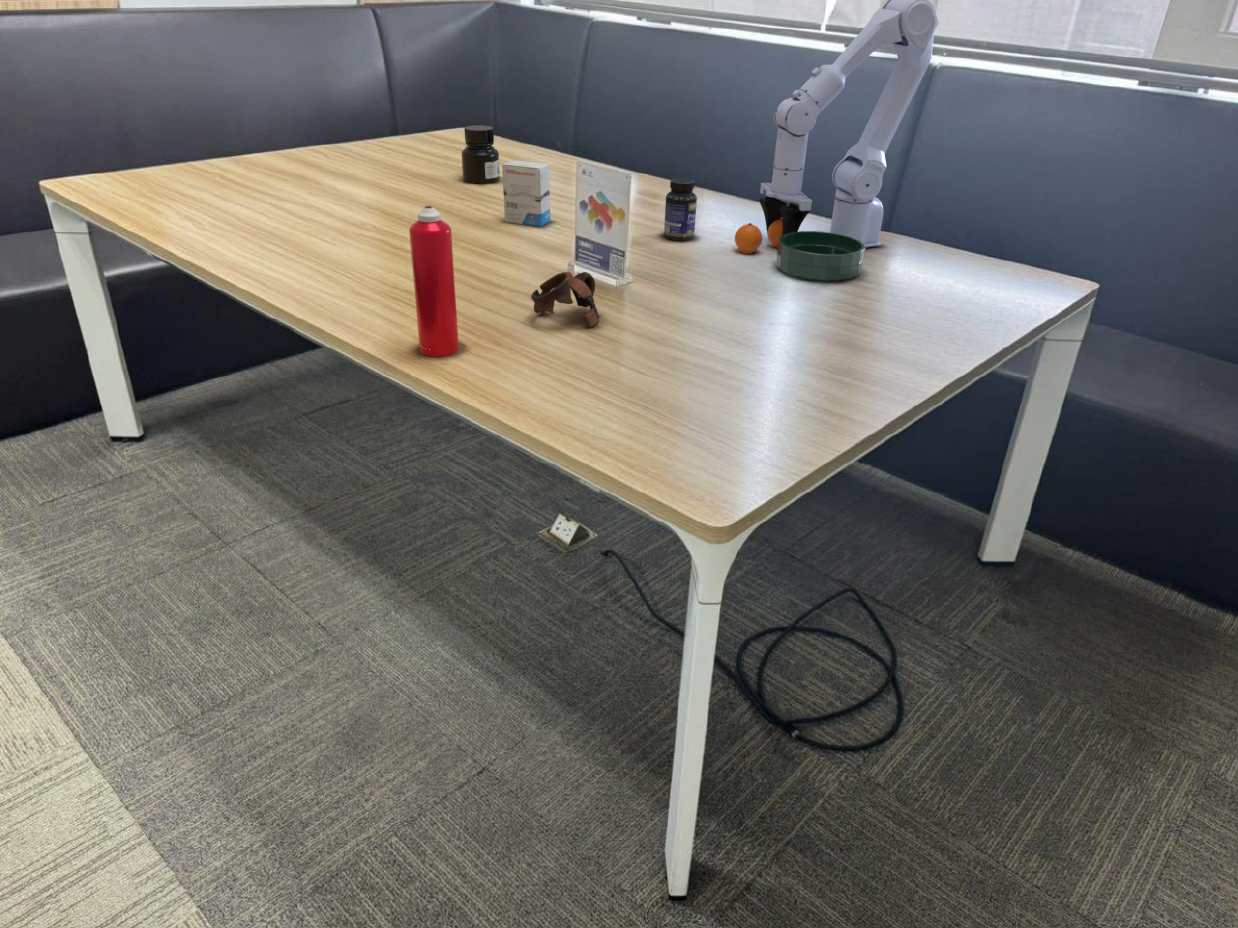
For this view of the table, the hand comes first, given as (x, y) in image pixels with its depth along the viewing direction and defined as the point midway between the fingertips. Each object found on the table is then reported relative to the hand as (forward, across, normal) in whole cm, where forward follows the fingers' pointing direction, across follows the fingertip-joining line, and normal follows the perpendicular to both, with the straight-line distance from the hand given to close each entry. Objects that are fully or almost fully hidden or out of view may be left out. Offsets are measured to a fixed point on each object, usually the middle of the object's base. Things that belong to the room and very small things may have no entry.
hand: (780, 239), depth 175 cm
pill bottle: (+2, -12, -16) cm, 20 cm away
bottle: (+2, +27, -75) cm, 80 cm away
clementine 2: (+1, 0, 0) cm, 1 cm away
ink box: (+2, -32, -41) cm, 52 cm away
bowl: (+1, +15, -2) cm, 15 cm away
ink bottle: (+2, -71, -39) cm, 81 cm away
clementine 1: (+1, +1, -8) cm, 8 cm away
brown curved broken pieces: (+2, +22, -53) cm, 57 cm away
